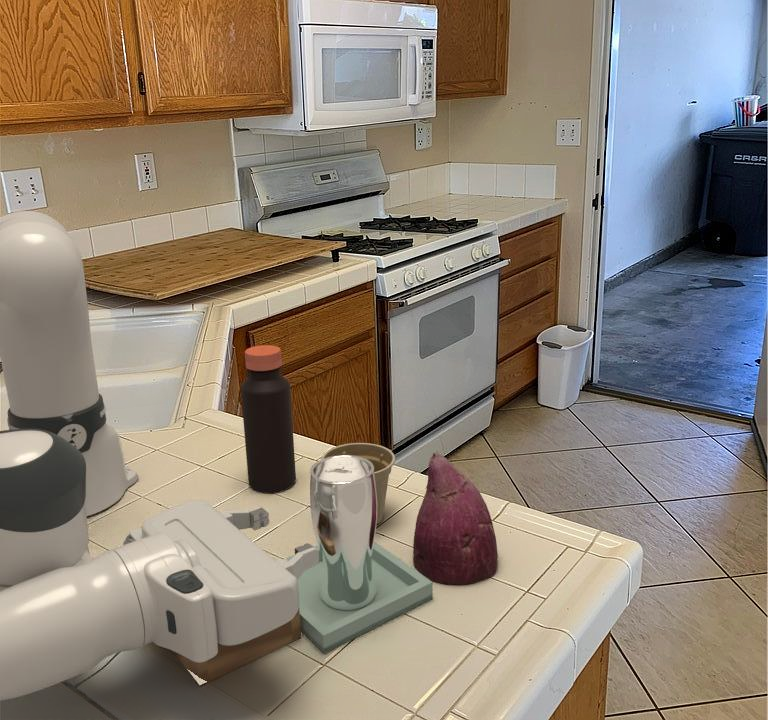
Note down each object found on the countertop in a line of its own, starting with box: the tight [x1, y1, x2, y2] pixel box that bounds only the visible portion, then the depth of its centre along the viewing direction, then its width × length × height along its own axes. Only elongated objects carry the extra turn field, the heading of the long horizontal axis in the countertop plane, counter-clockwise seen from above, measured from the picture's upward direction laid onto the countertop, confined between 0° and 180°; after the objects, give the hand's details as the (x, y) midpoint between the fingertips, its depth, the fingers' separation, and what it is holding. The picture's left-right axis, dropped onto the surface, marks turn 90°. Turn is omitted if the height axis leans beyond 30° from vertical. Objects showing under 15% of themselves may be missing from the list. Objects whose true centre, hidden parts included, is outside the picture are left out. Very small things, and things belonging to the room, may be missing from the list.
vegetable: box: [412, 449, 499, 586], centre depth 87 cm, size 10×10×15 cm
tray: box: [285, 541, 434, 655], centre depth 83 cm, size 14×14×2 cm
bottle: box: [240, 344, 297, 494], centre depth 105 cm, size 7×7×20 cm
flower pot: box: [320, 442, 396, 525], centre depth 97 cm, size 9×9×9 cm
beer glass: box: [309, 455, 377, 610], centre depth 80 cm, size 7×7×15 cm
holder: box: [172, 609, 302, 683], centre depth 77 cm, size 11×11×4 cm
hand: (289, 533), depth 76 cm, fingers open, 8 cm apart
